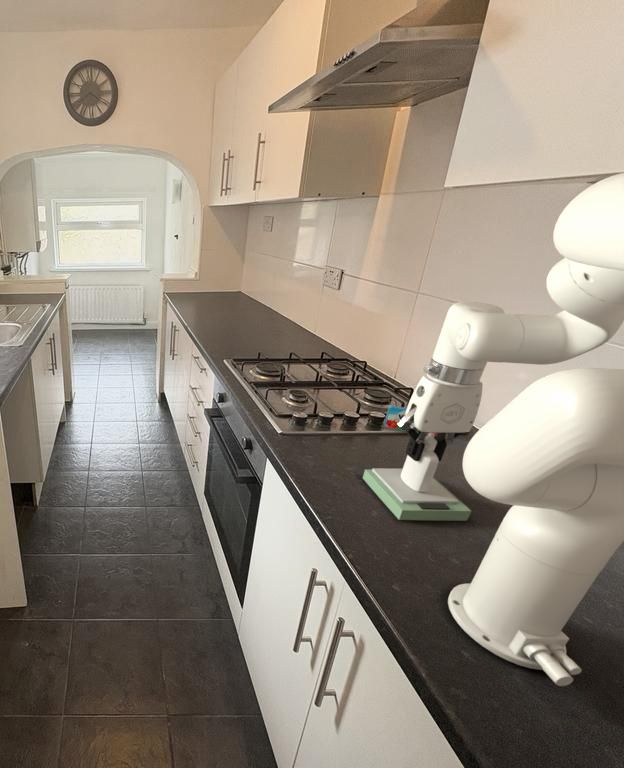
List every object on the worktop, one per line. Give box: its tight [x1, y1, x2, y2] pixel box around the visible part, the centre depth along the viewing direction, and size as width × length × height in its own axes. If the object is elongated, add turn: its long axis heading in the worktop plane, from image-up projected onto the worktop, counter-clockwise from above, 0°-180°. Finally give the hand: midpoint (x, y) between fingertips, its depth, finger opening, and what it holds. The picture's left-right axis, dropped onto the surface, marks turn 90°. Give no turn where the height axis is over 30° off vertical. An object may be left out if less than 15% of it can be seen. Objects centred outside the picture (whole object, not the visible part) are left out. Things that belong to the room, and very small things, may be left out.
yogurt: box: [383, 404, 436, 437], centre depth 108 cm, size 12×2×6 cm, turn 63°
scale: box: [362, 467, 472, 522], centre depth 85 cm, size 13×13×3 cm
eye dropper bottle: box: [401, 433, 440, 492], centre depth 82 cm, size 4×6×12 cm
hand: (422, 456), depth 82 cm, fingers closed on eye dropper bottle, 3 cm apart
